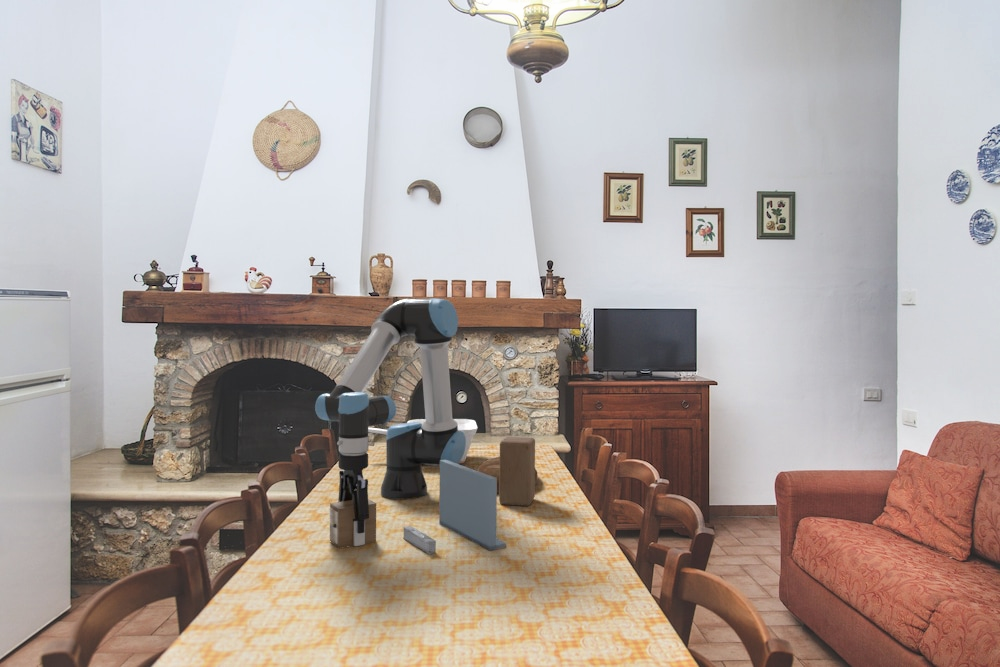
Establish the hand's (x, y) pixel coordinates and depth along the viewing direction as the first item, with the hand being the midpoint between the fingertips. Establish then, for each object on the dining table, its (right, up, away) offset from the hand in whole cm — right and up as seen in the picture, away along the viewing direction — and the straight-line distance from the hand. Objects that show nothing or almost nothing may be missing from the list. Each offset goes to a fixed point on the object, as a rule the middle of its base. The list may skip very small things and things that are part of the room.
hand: (352, 540), depth 173 cm
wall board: (+30, 0, +6) cm, 31 cm away
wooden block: (+44, 0, +39) cm, 59 cm away
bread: (+41, 0, +65) cm, 77 cm away
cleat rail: (+18, 0, -3) cm, 18 cm away
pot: (+6, +1, +100) cm, 100 cm away
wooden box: (0, 0, 0) cm, 0 cm away
